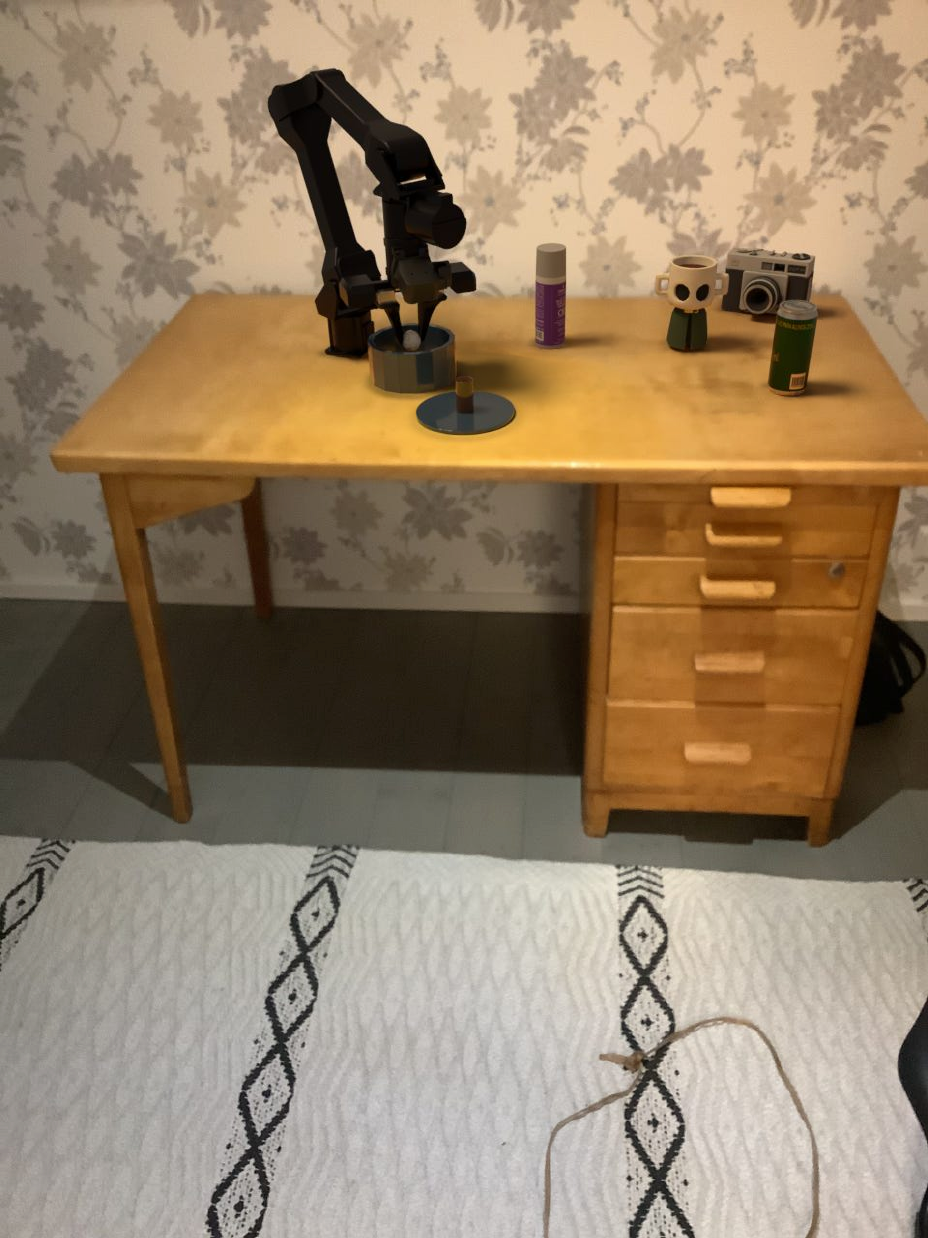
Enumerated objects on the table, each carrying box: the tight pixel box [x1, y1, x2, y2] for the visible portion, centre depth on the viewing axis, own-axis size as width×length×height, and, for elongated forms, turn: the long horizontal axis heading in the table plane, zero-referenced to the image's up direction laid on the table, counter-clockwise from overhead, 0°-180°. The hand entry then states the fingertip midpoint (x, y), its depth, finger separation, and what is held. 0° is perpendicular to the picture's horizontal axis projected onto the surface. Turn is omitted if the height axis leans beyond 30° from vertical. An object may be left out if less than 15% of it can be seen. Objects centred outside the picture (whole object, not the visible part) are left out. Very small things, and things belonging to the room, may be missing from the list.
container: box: [534, 242, 567, 350], centre depth 168 cm, size 5×5×15 cm
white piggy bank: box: [403, 330, 421, 350], centre depth 159 cm, size 3×3×3 cm
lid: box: [415, 375, 516, 436], centre depth 149 cm, size 14×14×6 cm
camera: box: [721, 247, 816, 318], centre depth 177 cm, size 14×9×10 cm, turn 55°
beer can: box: [767, 300, 819, 397], centre depth 151 cm, size 5×5×12 cm
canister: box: [367, 322, 458, 395], centre depth 160 cm, size 13×13×6 cm
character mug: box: [653, 254, 729, 350], centre depth 166 cm, size 11×7×13 cm, turn 84°
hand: (411, 342), depth 159 cm, fingers closed on white piggy bank, 3 cm apart
